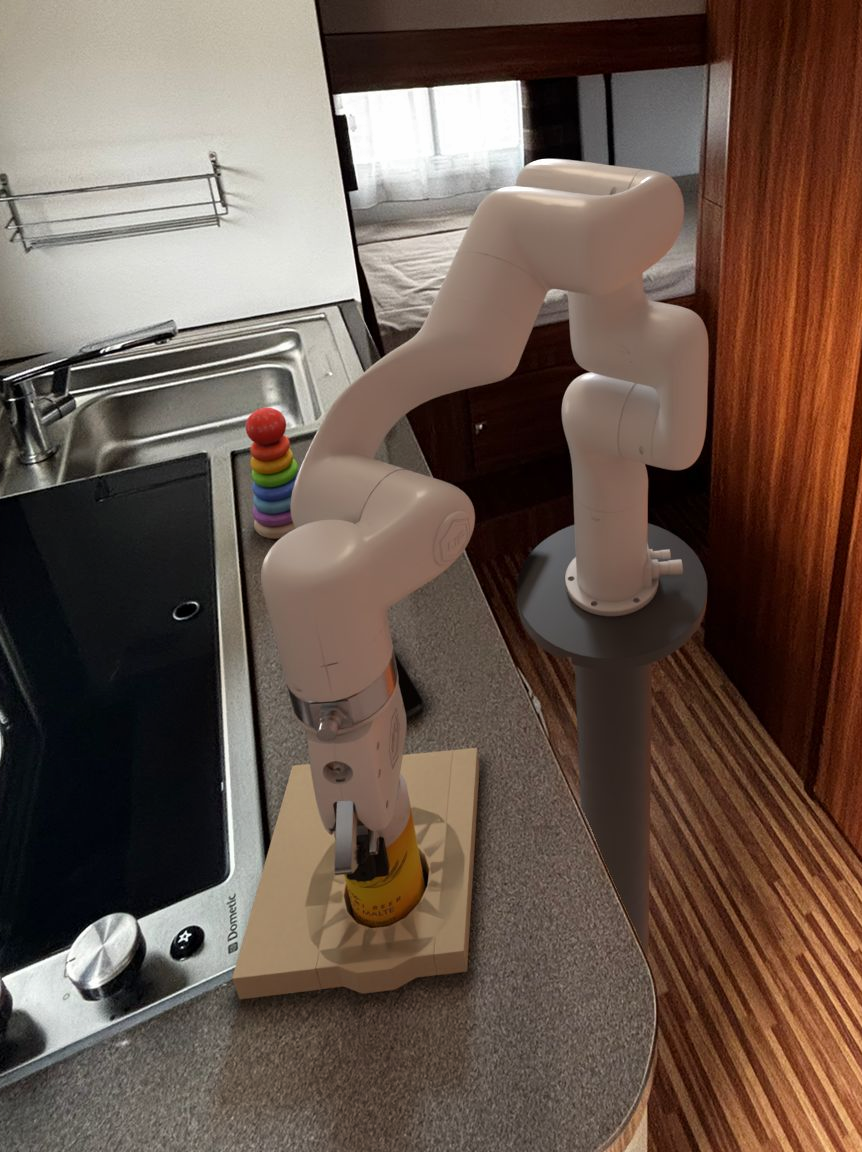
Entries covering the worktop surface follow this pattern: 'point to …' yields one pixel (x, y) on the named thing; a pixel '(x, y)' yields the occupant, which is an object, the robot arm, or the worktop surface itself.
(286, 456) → the stacking toy
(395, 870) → the beer can
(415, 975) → the pad base
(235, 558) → the worktop surface
